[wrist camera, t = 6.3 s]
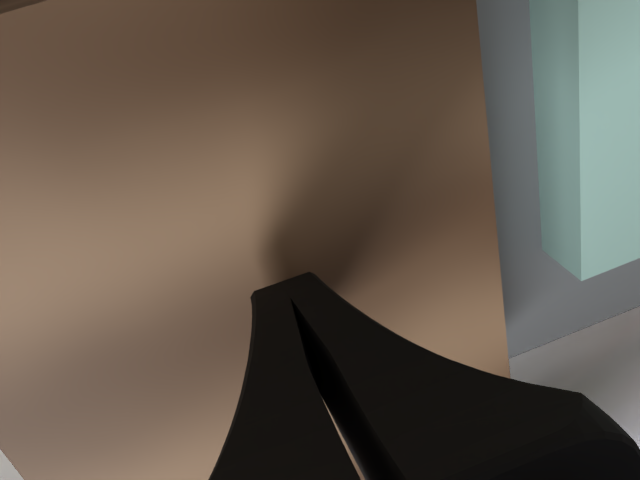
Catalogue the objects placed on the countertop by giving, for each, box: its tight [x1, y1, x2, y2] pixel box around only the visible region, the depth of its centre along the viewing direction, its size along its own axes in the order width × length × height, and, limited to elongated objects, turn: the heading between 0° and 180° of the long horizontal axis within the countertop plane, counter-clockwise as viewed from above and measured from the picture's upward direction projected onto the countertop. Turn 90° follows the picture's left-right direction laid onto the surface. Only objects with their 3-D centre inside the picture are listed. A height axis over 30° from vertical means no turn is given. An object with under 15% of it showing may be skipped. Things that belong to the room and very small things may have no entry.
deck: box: [0, 0, 510, 480], centre depth 15 cm, size 15×12×4 cm
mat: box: [476, 0, 640, 359], centre depth 18 cm, size 16×9×1 cm, turn 13°
